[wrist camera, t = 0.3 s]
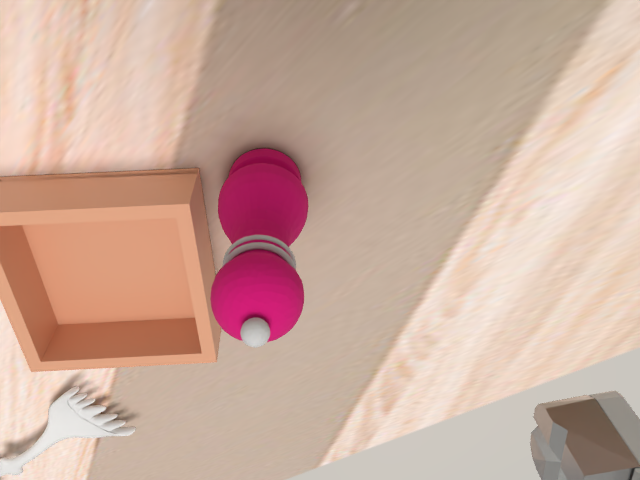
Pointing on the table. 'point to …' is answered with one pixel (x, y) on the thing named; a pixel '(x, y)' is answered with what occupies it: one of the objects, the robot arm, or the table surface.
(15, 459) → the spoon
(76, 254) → the crate
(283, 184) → the pepper mill
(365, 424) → the table surface
